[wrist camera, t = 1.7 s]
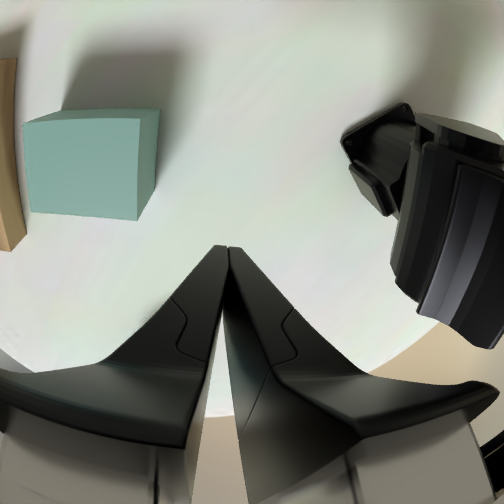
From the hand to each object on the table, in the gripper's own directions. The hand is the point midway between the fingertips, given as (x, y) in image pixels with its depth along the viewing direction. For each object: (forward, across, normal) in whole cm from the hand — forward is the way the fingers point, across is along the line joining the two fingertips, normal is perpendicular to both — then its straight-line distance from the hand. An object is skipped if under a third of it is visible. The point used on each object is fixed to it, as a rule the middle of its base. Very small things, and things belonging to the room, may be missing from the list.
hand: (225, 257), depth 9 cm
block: (+12, +9, 0) cm, 15 cm away
